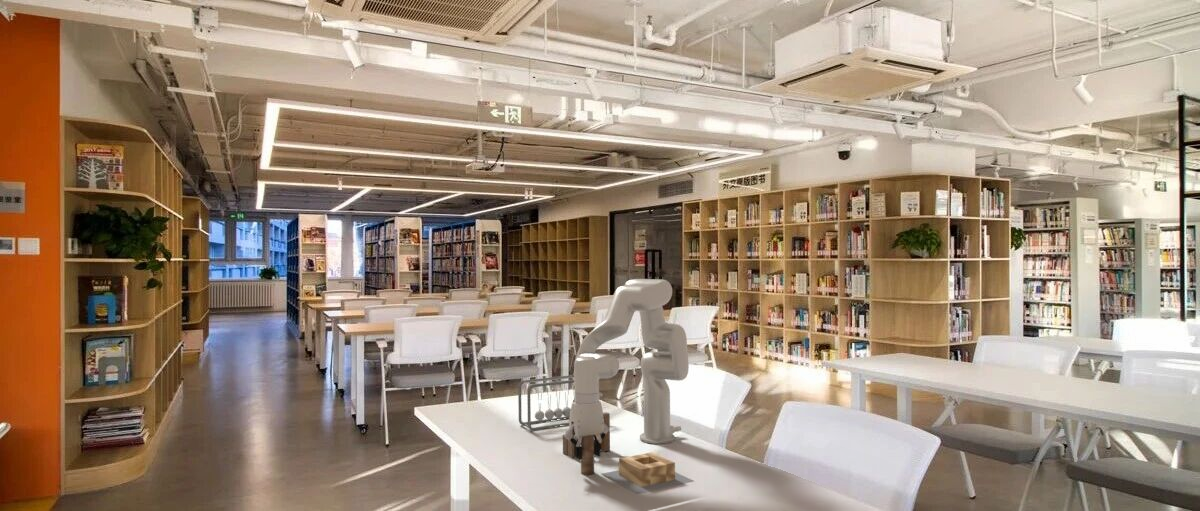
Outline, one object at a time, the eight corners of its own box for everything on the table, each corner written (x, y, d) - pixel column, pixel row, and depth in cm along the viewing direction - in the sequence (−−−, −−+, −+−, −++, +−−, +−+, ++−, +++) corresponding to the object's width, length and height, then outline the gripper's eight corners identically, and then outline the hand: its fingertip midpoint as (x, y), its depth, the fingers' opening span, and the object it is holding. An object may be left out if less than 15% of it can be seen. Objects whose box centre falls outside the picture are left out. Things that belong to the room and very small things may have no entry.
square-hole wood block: (651, 468, 207) (651, 452, 207) (675, 479, 197) (674, 462, 197) (619, 475, 201) (618, 458, 201) (641, 487, 191) (641, 469, 191)
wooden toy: (571, 458, 220) (570, 382, 219) (562, 453, 225) (561, 379, 225) (611, 451, 227) (611, 378, 227) (601, 446, 233) (601, 375, 233)
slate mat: (655, 464, 212) (655, 462, 212) (694, 482, 195) (694, 480, 195) (601, 475, 202) (601, 473, 202) (637, 495, 185) (637, 493, 185)
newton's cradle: (528, 431, 253) (527, 385, 253) (518, 425, 263) (517, 380, 263) (597, 421, 268) (597, 377, 268) (585, 416, 277) (585, 373, 277)
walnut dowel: (590, 471, 206) (589, 419, 206) (596, 475, 203) (596, 422, 203) (578, 473, 204) (578, 421, 204) (585, 477, 201) (584, 424, 201)
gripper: (604, 392, 211) (605, 449, 211) (556, 399, 202) (556, 458, 202) (617, 396, 204) (617, 455, 205) (567, 403, 196) (568, 465, 196)
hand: (587, 456), depth 203 cm, fingers open, 5 cm apart
